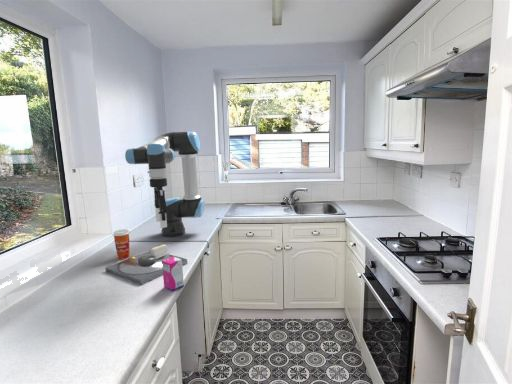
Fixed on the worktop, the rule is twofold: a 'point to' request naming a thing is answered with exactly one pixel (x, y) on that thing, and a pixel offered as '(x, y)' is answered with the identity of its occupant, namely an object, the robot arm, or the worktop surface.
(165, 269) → the supplement box
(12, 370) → the worktop surface
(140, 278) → the panel
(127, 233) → the paper cup
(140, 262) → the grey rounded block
